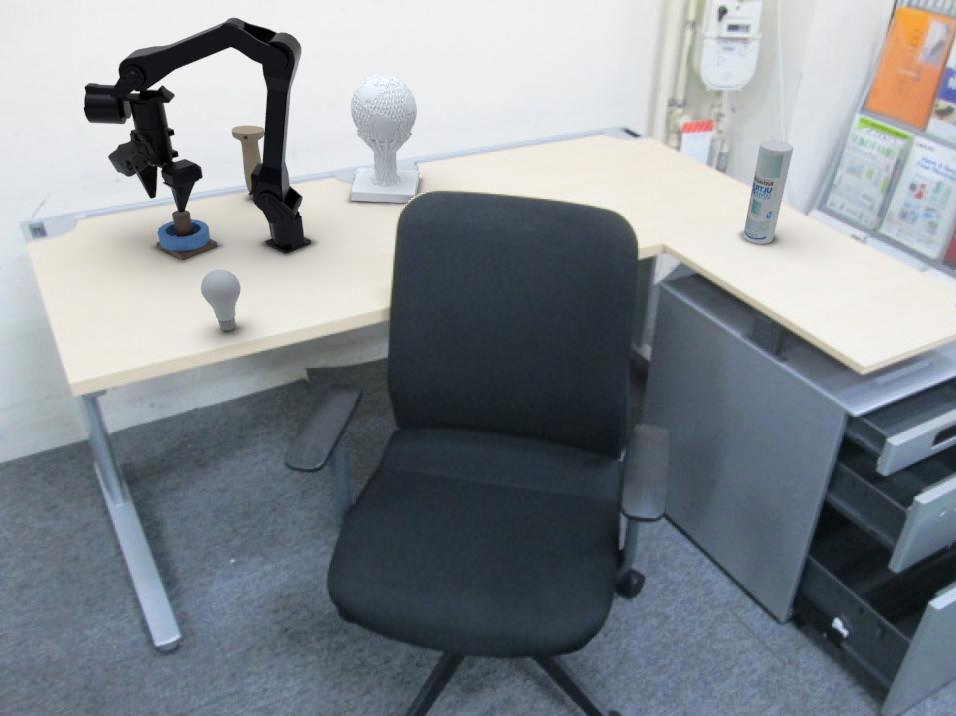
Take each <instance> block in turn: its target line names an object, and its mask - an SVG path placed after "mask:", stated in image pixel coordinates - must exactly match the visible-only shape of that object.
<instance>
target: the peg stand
mask: <svg viewBox="0 0 956 716" xmlns="http://www.w3.org/2000/svg"><path fill="white" fill-rule="evenodd" d="M171 217H172V221H173V222H174V227H175V232H176V235H175V236H176V237H184V236H189V235H193V234H194V232H193V227H192V222H191V219H192V216H191V212H190V211H189V210H186V209H185V211H184V212H181V213H180V212H178V210H175V211H173V212H172V213H171ZM155 245H156V248H158V249H159V250H161V251H163V252H165V253H168V254H169V255H172V256H173V257H175V258H177V259H179V260H181V261H184V260H186V259H189V258H191V257H194V256H196V255H199V254H201V253H204V252H206V251H209V250H212V249H214V248H217V247H218V242H217V241H216V240H214V239H212V238H210V241H209V242H208V243H207V244H206V245H205V246H203V247H200V248H198V249H194V250H189V251H172V250H167V249H165V248H163V247H162V246H161V245H160V242H159V241H157V242H156V244H155Z"/></svg>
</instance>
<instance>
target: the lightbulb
mask: <svg viewBox="0 0 956 716" xmlns="http://www.w3.org/2000/svg"><path fill="white" fill-rule="evenodd" d="M241 289H242V288H241V283H240V281H239V279H238V277H237V276H236V275H235V274H234V273H232V272H231V271H229V270H226V269H214V270H212V271H210V272H208V273H206V275H205V276H204V277H203V278H202V280H201V284H200V291H201V294H202V297H203V298H204V299H205V301H206V302H207V303H208V304H209V306H211V308H212V309H213V312H214V314H215V318H216V319H217V322H218V325H219V328H220V330H222V331H226V332H229V331H232V330H233V329H235V327H236V318H235V317H236V306H237V302H238V300H239V298H240V295H241Z"/></svg>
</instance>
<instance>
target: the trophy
mask: <svg viewBox="0 0 956 716" xmlns="http://www.w3.org/2000/svg"><path fill="white" fill-rule="evenodd" d="M350 112H351V113H350V114H351V119H352V121H353V123H354V125H355V127H356V129H357V130H356V133H357V134H356V135H357V136H358V137H359V138H360V139H361V140H362V141H363V142H364V143H365V144H366V145H367V147H369V149H370V150H371V151H372V152H373V164H374V165H373V168H371V167H370V168H368V167H358V168H357V171H356V175H355V178H354V180H353V184H352V187H351V190H350V200H351V201H352V202H375V203H396V204H408V203H407V202H408V201H409V200H411V198H413V197H414V196H416V197H417V193H418V187H419V182H420V171H419V170H406V169H398V167H397V163H398V162H397V152H398V151H399V150H400V149H401V148H402V146H403V145H404V144H405V143H406V142H407V141H408V140H409V139H410V137H411V136H412V135H413V132H412V130H413V128H414V126H415V123H416V120H417V116H418V108H417V102H416V99H415V96H414V94H413V92H412V91H411V89H410V88H409V87H408V85H406V83H404V82H403V81H401V79H398V78H397V77H395V76H392V75H387V74H377V75H372V76H370V77H368V78H367V79H364V80H363V81H362V82H361V83H360V84H359V85H358V86H357V87H356V89H355V90H354V92H353V95H352V97H351V103H350Z"/></svg>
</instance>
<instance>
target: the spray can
mask: <svg viewBox="0 0 956 716" xmlns="http://www.w3.org/2000/svg"><path fill="white" fill-rule="evenodd" d="M793 151H794V146H793V145H792V144H791V143H789V142H786V141H783V140H780V139H779V140H778V139H765V140H763V141H761V142H760V143H759V149H758V153H757V159H756V164H755V170H754V174H753V180H752V185H751V191H750V196H749V202H748V207H747V213H746V219H745V225H744V229H743V239H744V240H746V241H747V242H749V243H753V244H757V245H765V244H766V245H767V244H770V243H772V242H773V239H774V236H775V232H776V228H777V224H778V219H779V215H780V210H781V205H782V200H783V196H784V191H785V188H786V183H787V178H788V174H789V170H790V165H791V161H792V156H793Z"/></svg>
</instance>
